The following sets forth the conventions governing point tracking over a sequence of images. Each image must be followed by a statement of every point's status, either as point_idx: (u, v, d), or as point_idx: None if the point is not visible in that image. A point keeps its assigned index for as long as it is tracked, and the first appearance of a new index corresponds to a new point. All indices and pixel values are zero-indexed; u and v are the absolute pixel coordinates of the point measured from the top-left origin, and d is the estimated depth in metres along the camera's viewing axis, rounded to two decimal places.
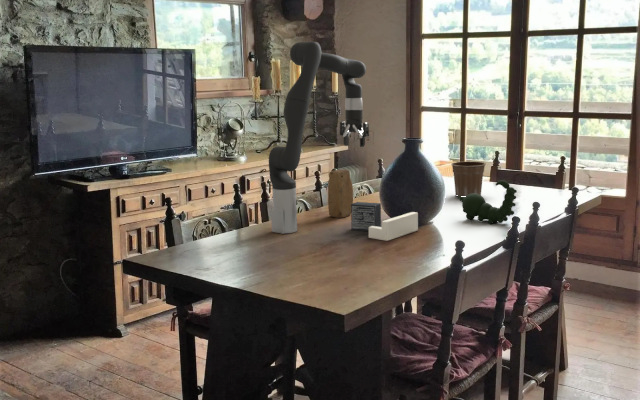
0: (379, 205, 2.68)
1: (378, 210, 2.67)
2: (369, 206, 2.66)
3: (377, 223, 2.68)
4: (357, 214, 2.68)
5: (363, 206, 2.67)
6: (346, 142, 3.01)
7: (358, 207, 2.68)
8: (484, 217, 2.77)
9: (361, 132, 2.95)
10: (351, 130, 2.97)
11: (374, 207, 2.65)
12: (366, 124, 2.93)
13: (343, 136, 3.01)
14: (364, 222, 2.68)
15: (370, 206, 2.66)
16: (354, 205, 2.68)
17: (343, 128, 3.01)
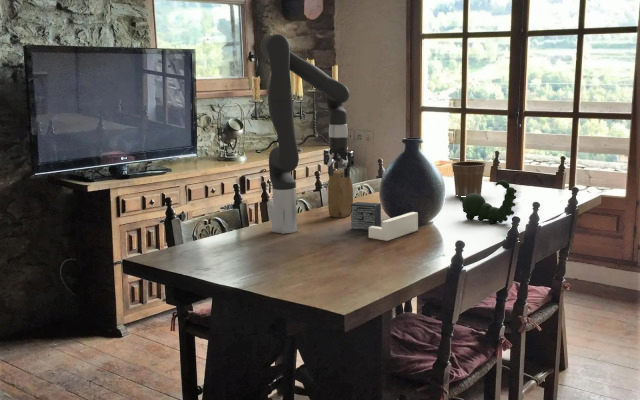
0: (379, 205, 2.68)
1: (378, 210, 2.67)
2: (369, 206, 2.66)
3: (377, 223, 2.68)
4: (357, 214, 2.68)
5: (363, 206, 2.67)
6: (331, 172, 2.78)
7: (358, 207, 2.68)
8: (484, 217, 2.77)
9: (346, 162, 2.73)
10: (335, 159, 2.75)
11: (374, 207, 2.65)
12: (351, 153, 2.70)
13: None
14: (364, 222, 2.68)
15: (370, 206, 2.66)
16: (354, 205, 2.68)
17: (327, 157, 2.78)
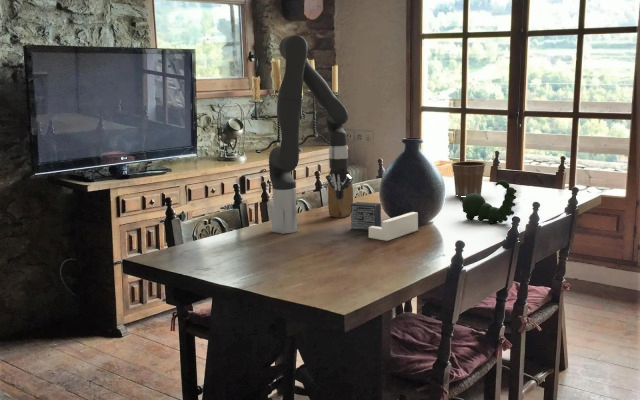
0: (379, 205, 2.68)
1: (378, 210, 2.67)
2: (369, 206, 2.66)
3: (377, 223, 2.68)
4: (357, 214, 2.68)
5: (363, 206, 2.67)
6: None
7: (358, 207, 2.68)
8: (484, 217, 2.77)
9: (342, 184, 2.76)
10: None
11: (374, 207, 2.65)
12: (350, 180, 2.73)
13: (336, 189, 2.77)
14: (364, 222, 2.68)
15: (370, 206, 2.66)
16: (354, 205, 2.68)
17: (332, 180, 2.79)
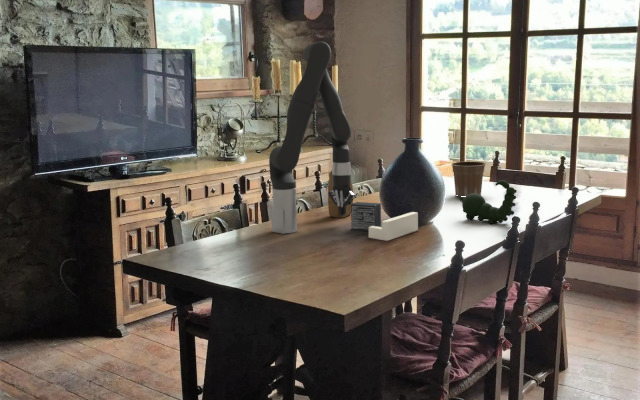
0: (379, 205, 2.68)
1: (378, 210, 2.67)
2: (369, 206, 2.66)
3: (377, 223, 2.68)
4: (357, 214, 2.68)
5: (363, 206, 2.67)
6: None
7: (358, 207, 2.68)
8: (484, 217, 2.77)
9: (344, 200, 2.76)
10: None
11: (374, 207, 2.65)
12: (353, 196, 2.73)
13: (338, 206, 2.77)
14: (364, 222, 2.68)
15: (370, 206, 2.66)
16: (354, 205, 2.68)
17: (334, 196, 2.79)
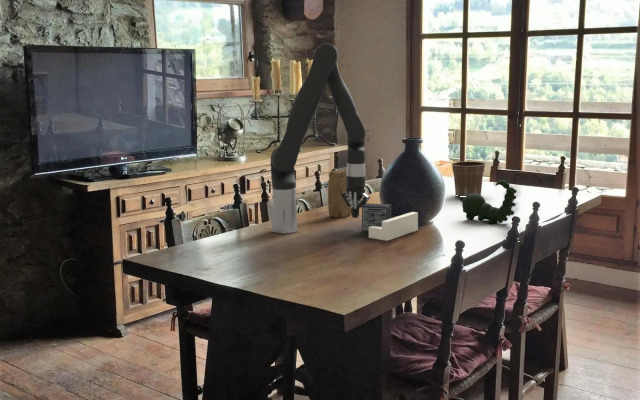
0: (390, 207, 2.65)
1: (389, 211, 2.64)
2: (380, 207, 2.62)
3: None
4: (368, 215, 2.65)
5: (374, 207, 2.63)
6: None
7: (369, 209, 2.64)
8: (484, 217, 2.77)
9: (358, 202, 2.72)
10: None
11: (386, 208, 2.62)
12: (367, 199, 2.68)
13: (351, 207, 2.73)
14: (376, 223, 2.64)
15: (381, 208, 2.62)
16: (365, 206, 2.65)
17: (347, 198, 2.74)
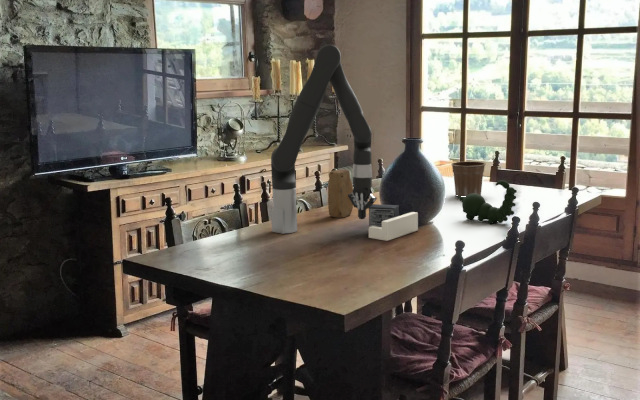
0: (397, 208, 2.63)
1: (396, 212, 2.62)
2: (388, 208, 2.60)
3: None
4: (376, 217, 2.63)
5: (382, 208, 2.61)
6: None
7: (377, 210, 2.62)
8: (484, 217, 2.77)
9: (364, 203, 2.70)
10: None
11: (393, 209, 2.60)
12: (374, 200, 2.66)
13: (358, 209, 2.71)
14: None
15: (388, 209, 2.60)
16: (372, 208, 2.63)
17: (354, 199, 2.72)
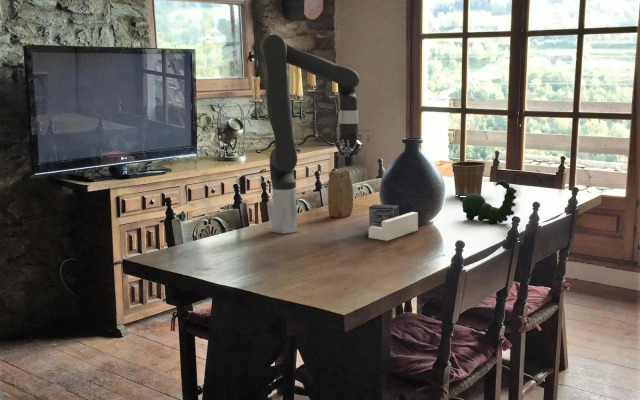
0: (398, 208, 2.63)
1: (397, 212, 2.62)
2: (388, 208, 2.60)
3: None
4: (376, 217, 2.63)
5: (382, 209, 2.61)
6: None
7: (377, 210, 2.62)
8: (484, 217, 2.77)
9: (351, 150, 2.69)
10: None
11: (394, 209, 2.60)
12: (360, 146, 2.66)
13: (345, 156, 2.70)
14: None
15: (389, 209, 2.60)
16: (372, 208, 2.63)
17: (341, 147, 2.72)
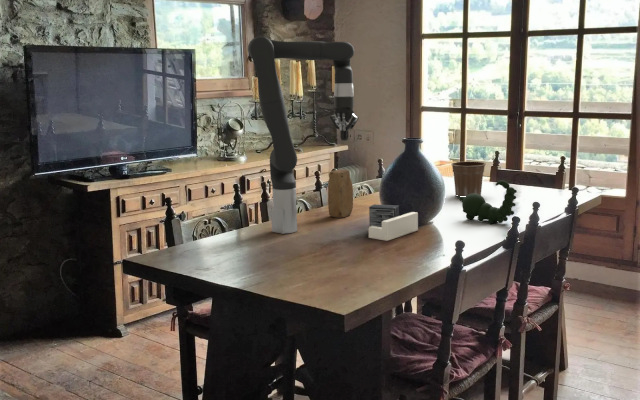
0: (398, 208, 2.63)
1: (397, 212, 2.62)
2: (388, 209, 2.60)
3: None
4: (376, 217, 2.63)
5: (382, 209, 2.61)
6: None
7: (377, 210, 2.62)
8: (484, 217, 2.77)
9: (347, 124, 2.66)
10: None
11: (394, 209, 2.60)
12: (356, 119, 2.62)
13: (340, 130, 2.67)
14: None
15: (389, 209, 2.60)
16: (372, 208, 2.62)
17: (336, 121, 2.69)
